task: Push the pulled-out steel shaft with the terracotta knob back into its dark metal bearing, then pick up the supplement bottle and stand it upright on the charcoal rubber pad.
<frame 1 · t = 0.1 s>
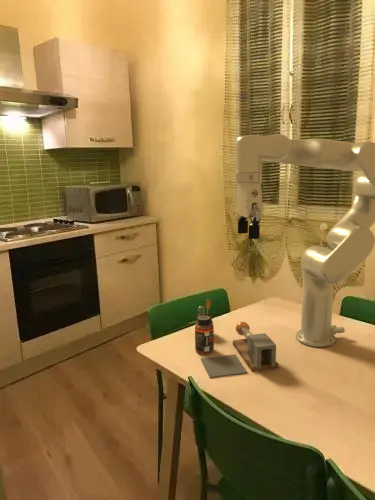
hand: (248, 235, 120), 37 cm above the table, tool pointing down, fingers open, 9 cm apart
shaft: (249, 337, 125), point 4 cm above the table, slide at 8.0 cm
pad: (223, 366, 116), on the table
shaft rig: (253, 355, 122), on the table
utensil holder: (204, 334, 138), on the table
supplement bottle: (204, 351, 126), on the table
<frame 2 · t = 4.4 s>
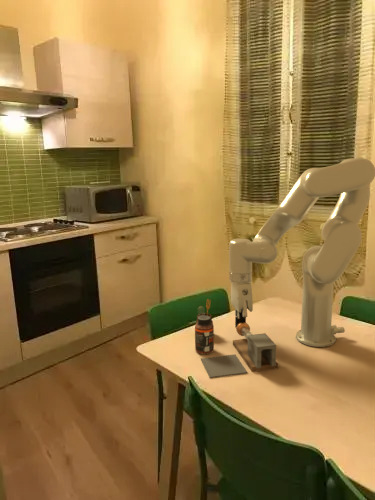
hand: (240, 328, 134), 4 cm above the table, tool pointing down, fingers closed
shaft: (250, 337, 124), point 4 cm above the table, slide at 7.6 cm, touching gripper
everything else where it was.
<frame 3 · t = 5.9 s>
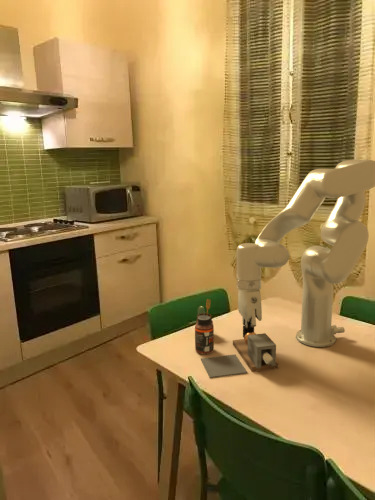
hand: (248, 337, 126), 4 cm above the table, tool pointing down, fingers closed
shaft: (259, 348, 117), point 4 cm above the table, slide at -0.2 cm, touching gripper
everything else where it was.
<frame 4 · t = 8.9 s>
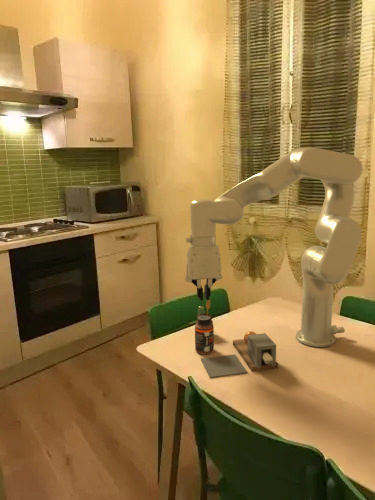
hand: (203, 298, 123), 17 cm above the table, tool pointing down, fingers closed
shaft: (259, 348, 117), point 4 cm above the table, slide at 0.0 cm
everything else where it was.
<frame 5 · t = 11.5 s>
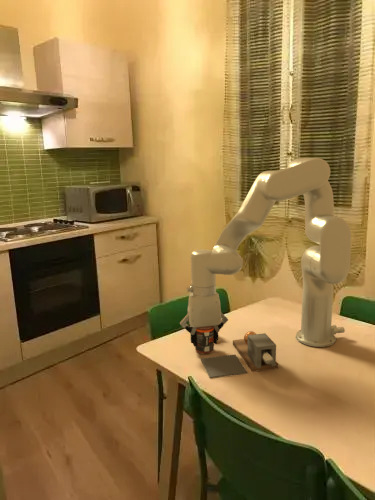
hand: (204, 343, 126), 3 cm above the table, tool pointing down, fingers closed on supplement bottle, 6 cm apart
supplement bottle: (204, 351, 126), on the table, touching gripper
everything else where it was.
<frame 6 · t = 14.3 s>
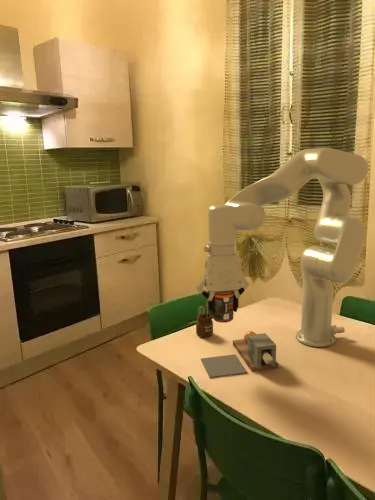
hand: (223, 310, 113), 17 cm above the table, tool pointing down, fingers closed on supplement bottle, 6 cm apart
supplement bottle: (223, 320, 113), point 14 cm above the table, touching gripper
everything else where it was.
when the fingers open (4 cm above the table, at t = 17.1 s): supplement bottle drops 1 cm, resting on pad.
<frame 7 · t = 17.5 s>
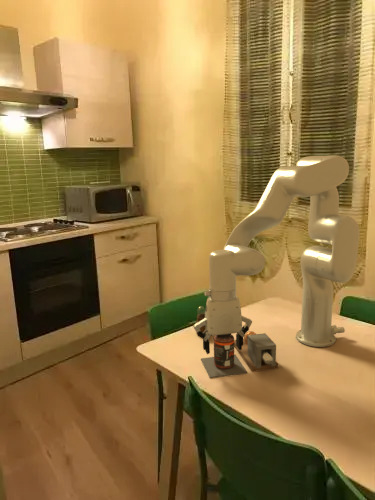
hand: (223, 349, 115), 5 cm above the table, tool pointing down, fingers open, 9 cm apart
supplement bottle: (224, 365, 116), resting on pad
everything else where it was.
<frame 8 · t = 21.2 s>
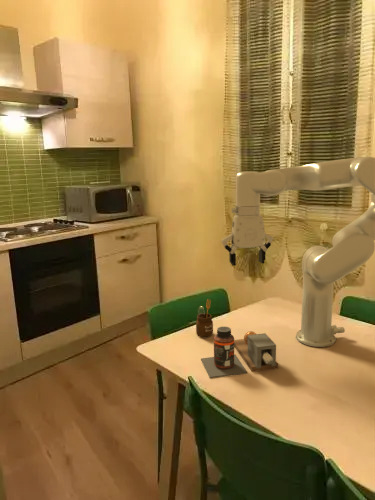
hand: (247, 263, 128), 26 cm above the table, tool pointing down, fingers open, 9 cm apart
nothing on the table moved.
at the end: shaft slide at 0.0 cm; supplement bottle inside the target area on the pad (0.3 cm from its centre), point 0.2 cm above the pad's base; supplement bottle tilted 0° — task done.
